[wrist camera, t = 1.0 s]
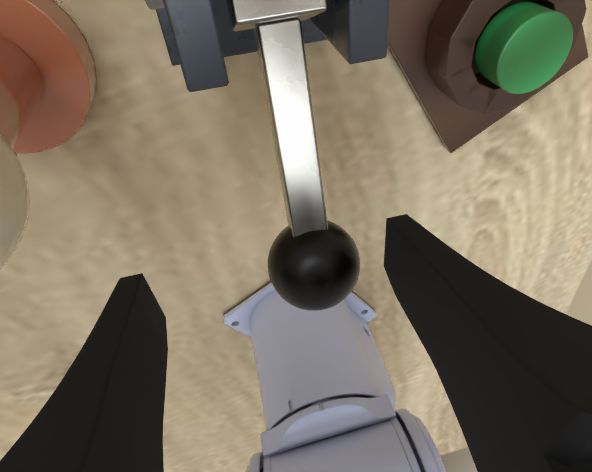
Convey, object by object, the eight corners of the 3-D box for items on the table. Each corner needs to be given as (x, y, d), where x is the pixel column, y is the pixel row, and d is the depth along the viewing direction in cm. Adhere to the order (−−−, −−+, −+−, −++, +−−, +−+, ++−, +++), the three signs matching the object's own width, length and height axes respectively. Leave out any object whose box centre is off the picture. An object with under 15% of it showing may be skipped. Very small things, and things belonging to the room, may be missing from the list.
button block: (580, 53, 21) (619, 71, 20) (445, 148, 24) (469, 172, 22) (537, -160, 15) (588, -164, 13) (360, -3, 17) (382, 13, 15)
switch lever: (349, 272, 16) (376, 317, 13) (271, 289, 15) (282, 339, 13) (306, -101, 11) (335, -155, 8) (192, -85, 10) (183, -136, 8)
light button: (552, 46, 18) (580, 59, 17) (487, 93, 19) (509, 109, 18) (535, -18, 16) (566, -8, 15) (464, 38, 17) (487, 51, 16)
